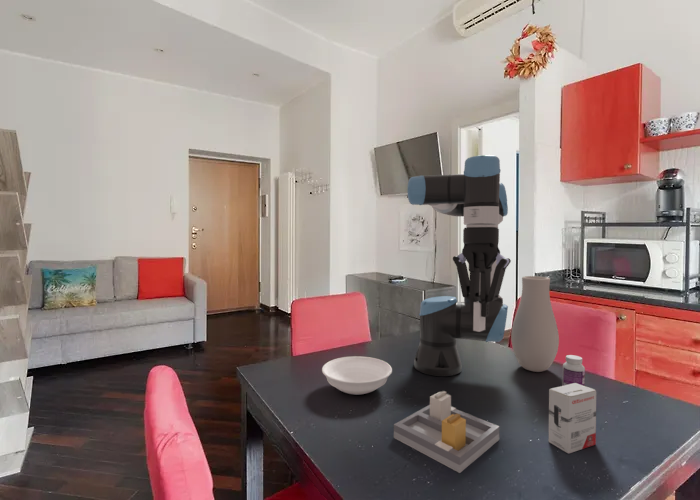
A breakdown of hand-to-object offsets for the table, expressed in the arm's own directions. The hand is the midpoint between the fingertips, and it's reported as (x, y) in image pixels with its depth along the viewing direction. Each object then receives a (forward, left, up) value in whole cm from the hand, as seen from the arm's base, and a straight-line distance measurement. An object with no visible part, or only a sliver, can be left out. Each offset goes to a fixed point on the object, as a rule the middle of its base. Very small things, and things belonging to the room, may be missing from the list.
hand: (479, 330), depth 84 cm
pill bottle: (+9, +37, -23) cm, 44 cm away
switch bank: (-2, -10, -22) cm, 25 cm away
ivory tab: (-6, -6, -21) cm, 23 cm away
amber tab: (+2, -14, -21) cm, 25 cm away
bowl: (-33, -7, -23) cm, 41 cm away
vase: (-5, +46, -23) cm, 51 cm away
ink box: (+17, +8, -23) cm, 29 cm away
